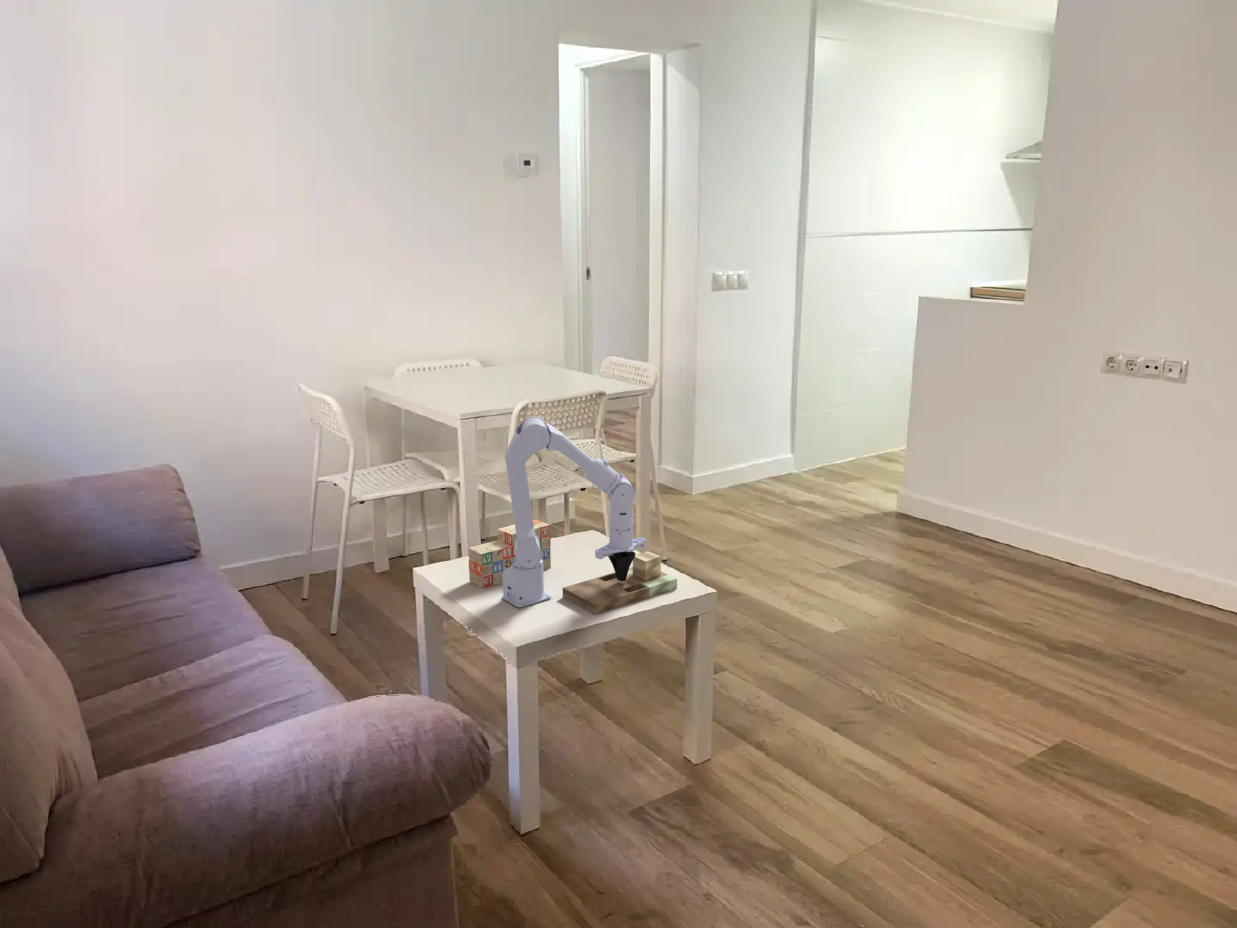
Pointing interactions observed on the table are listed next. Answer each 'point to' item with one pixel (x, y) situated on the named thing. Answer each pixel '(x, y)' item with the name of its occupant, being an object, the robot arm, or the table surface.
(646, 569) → the maple block
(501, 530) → the stack of blocks
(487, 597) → the table surface
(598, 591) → the trap board
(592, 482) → the robot arm
